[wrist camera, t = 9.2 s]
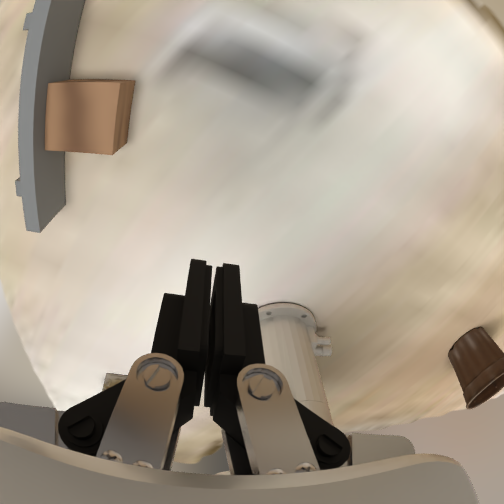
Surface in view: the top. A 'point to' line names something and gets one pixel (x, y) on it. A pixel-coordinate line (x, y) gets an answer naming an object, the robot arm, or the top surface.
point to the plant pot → (478, 366)
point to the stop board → (43, 107)
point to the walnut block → (88, 115)
